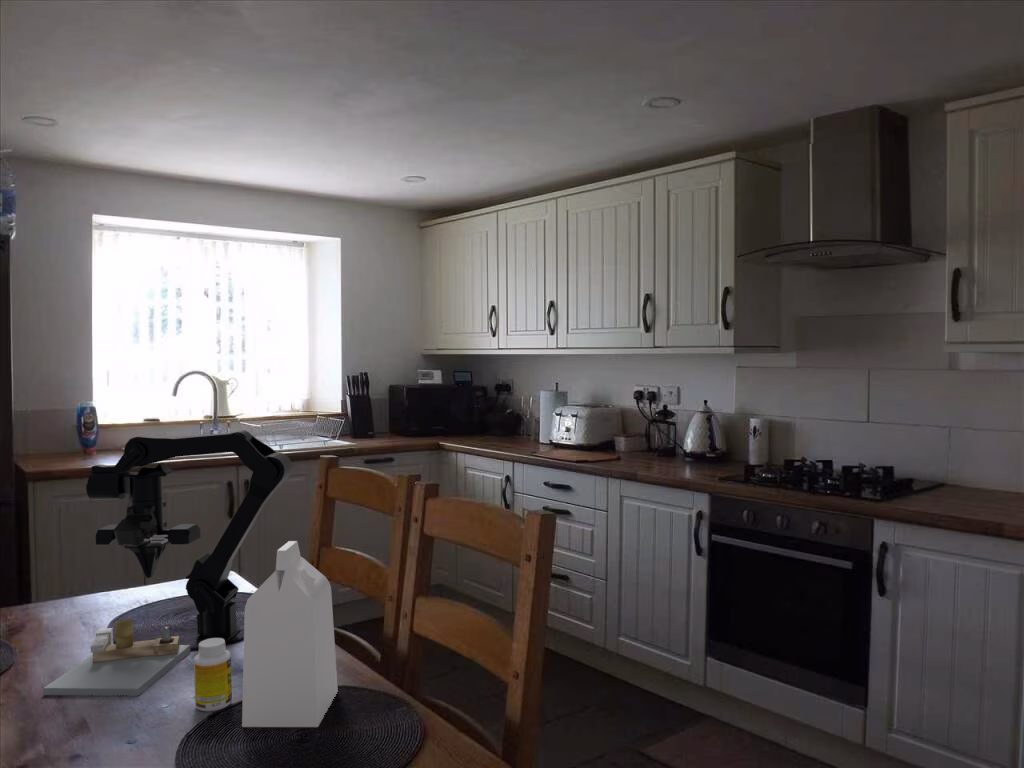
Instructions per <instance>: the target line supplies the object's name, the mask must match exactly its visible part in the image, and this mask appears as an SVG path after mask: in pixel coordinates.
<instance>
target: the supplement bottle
mask: <svg viewBox="0 0 1024 768" xmlns="http://www.w3.org/2000/svg"><path fill="white" fill-rule="evenodd" d="M193 676H194V677H193V678H194V679H193V681H194V683H193V684H194V704H195V708H196V709H197V710H199V711H201V712H215V711H219V710H222V709H224V708H226V707H228V706H230V704H231V703H232V700H233V687H232V686H233V685H232V684H233V681H232V655H231V652H230V651H229V650H227V649H226V641H225V640H224V639H222V638H210V639H206V640H203V641H199V643H198V653H197V654H196V655H195V656H194V658H193Z"/></svg>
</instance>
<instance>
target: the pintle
mask: <svg viewBox="0 0 1024 768" xmlns="http://www.w3.org/2000/svg"><path fill="white" fill-rule="evenodd" d="M160 631H161V634H160V635H161V638H162V644H164V643H171V637H172V627H171V625H166V626H162V627H161V629H160Z"/></svg>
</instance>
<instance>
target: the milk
mask: <svg viewBox="0 0 1024 768" xmlns="http://www.w3.org/2000/svg"><path fill="white" fill-rule="evenodd" d="M275 562H276V563H275V570H274V572H272V574H271V575H270V576H269V577H268V578H267V579H266V580H265V581H264V582H263V583H262V584H261V585H260V586H259V587H258V588H257V589H256V590H255V591H254V592H253V593H252V594H251V595H250V596H249V598H248V599H247V601H246V602H245V605H244V613H243V614H244V616H243V617H244V618H243V619H244V621H243V624H244V625H243V663H242V665H243V667H242V669H243V670H242V672H243V673H242V704H241V705H242V706H241V707H242V711H241V713H242V715H241V716H242V717H241V722H242V723H241V728H318V727H319V726H320V724H321V722H322V720H323V719H324V717H325V716H324V715H326V714H325V713H327V712H328V710H329V709H328V708H330V706H331V705H332V703H333V702H334V700H335V698H334V697H336V696H337V695H336V694H338V693H337V692H339V691H338V690H339V689H338V674H337V658H336V657H337V655H336V644H335V643H336V641H335V630H334V629H335V627H334V614H333V613H334V612H333V600H332V599H333V597H332V587H331V586H332V585H331V584H330V582H329V580H328V579H327V577H326V576H325V575H324V574H323V573H321V572H320V571H319V570H318V569H317V568H315V566H313V565H312V564H311V563H309V561H307V560H306V559H305V558H304V557H302V556H301V551H300V547H299V543H298V540H288V541H287V542H286V543H284V544H283V545H282V546H281V547H279V548H277V551H276V561H275ZM333 699H334V700H333ZM332 701H333V702H332Z"/></svg>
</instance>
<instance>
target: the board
mask: <svg viewBox="0 0 1024 768" xmlns="http://www.w3.org/2000/svg"><path fill="white" fill-rule="evenodd" d="M190 652H191V644H180V646H179V650H178V653H175V654H166V655H158V656H154V655H150V656H142V657H133V658H125V659H116V660H108V661H100V662H93V654H91V655H90V656H88V657H87V658H86V659H84V660H83V661H80V663H78V664H76V666H74V667H72V668H71V669H69V670H68V671H66V672H65V673H63V674H62V675H60V676H59V677H58V678H56V679H54V680H53V681H52V682H50V683H48V684H47V685H45V687H43V696H88V695H89V696H90V697H91V695H93V696H94V697H96V696H97V697H98V696H102V697H103V696H105V697H107V696H108V697H110V696H112V697H113V695H114V697H117V695H118V697H126V695H127V697H139V696H140V695H141V694H142V693H144V692H145V691H146V690H147V689H148V688H149V687H151V686H152V685H153V684H154V683H155V682H156V681H158V680H159V679H161V677H162V676H163V675H164V674H166V673H167V672H168V671H169V670H171V669H172V667H174V666H175V665H176V664H178V663H179V662H180V661H181V660H182V659H184V658H185V657H186V656H187V655H188V654H189V653H190ZM120 695H121V696H120ZM122 695H124V696H122ZM138 695H139V696H138ZM89 696H88V697H89Z"/></svg>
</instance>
